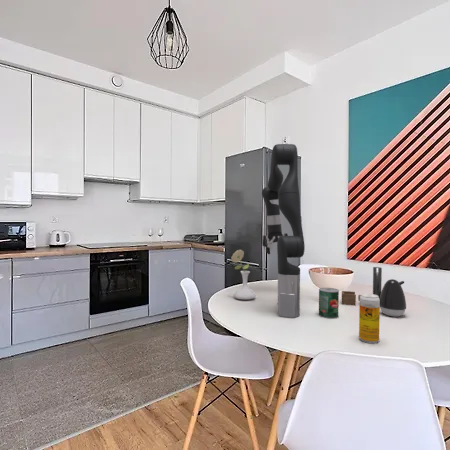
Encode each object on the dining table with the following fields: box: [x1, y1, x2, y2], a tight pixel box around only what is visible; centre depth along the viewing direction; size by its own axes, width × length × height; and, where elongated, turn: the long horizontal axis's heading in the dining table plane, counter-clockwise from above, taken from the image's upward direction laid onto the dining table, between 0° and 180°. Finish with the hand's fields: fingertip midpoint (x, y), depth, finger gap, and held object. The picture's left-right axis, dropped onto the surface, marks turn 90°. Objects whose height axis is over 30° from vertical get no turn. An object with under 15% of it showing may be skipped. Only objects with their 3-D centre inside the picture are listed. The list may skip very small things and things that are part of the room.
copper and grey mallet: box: [357, 266, 383, 302], centre depth 148 cm, size 4×16×17 cm, turn 71°
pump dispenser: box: [380, 278, 407, 318], centre depth 133 cm, size 10×10×15 cm
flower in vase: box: [230, 249, 257, 300], centre depth 158 cm, size 13×11×25 cm
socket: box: [341, 290, 357, 306], centre depth 152 cm, size 7×6×5 cm
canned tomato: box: [318, 287, 340, 320], centre depth 131 cm, size 8×8×11 cm
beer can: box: [358, 293, 381, 344], centre depth 104 cm, size 6×6×15 cm
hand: (276, 253), depth 170 cm, fingers open, 8 cm apart
